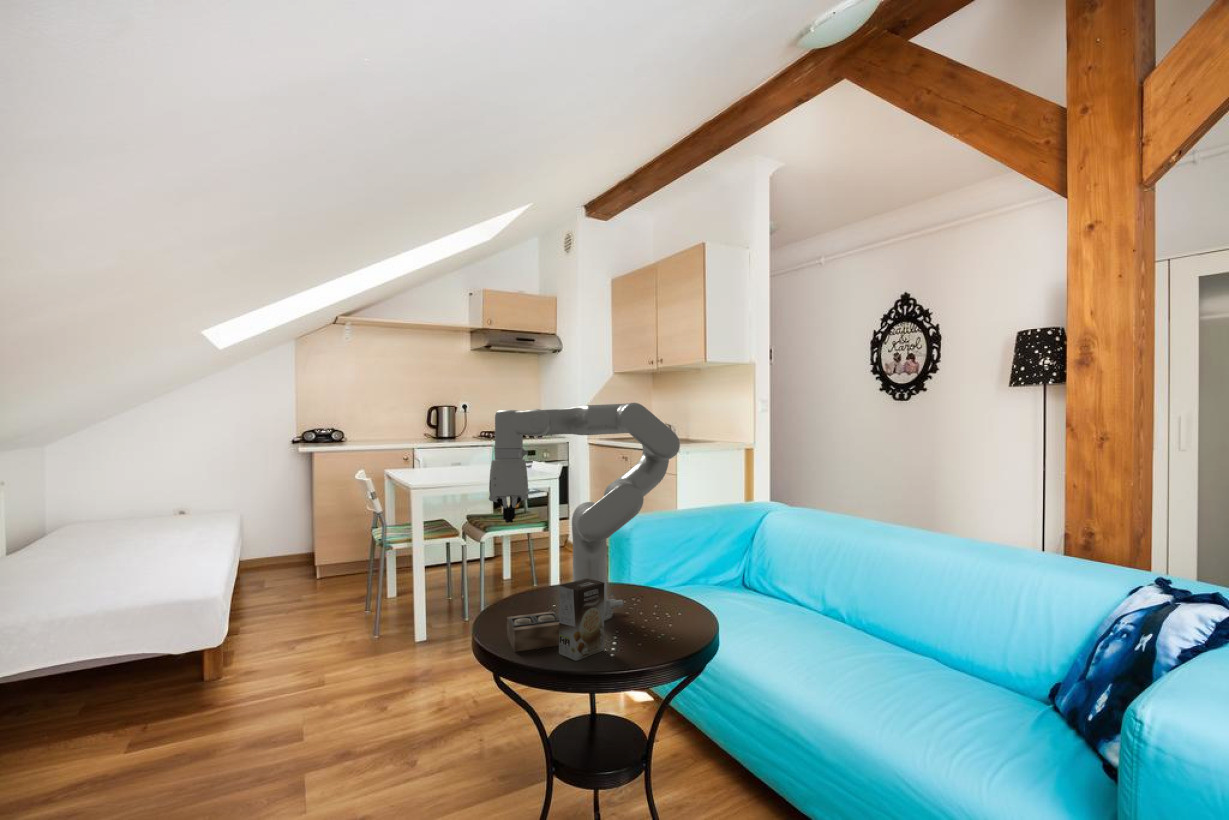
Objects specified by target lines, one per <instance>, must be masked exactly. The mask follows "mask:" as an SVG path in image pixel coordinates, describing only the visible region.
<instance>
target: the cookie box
mask: <svg viewBox="0 0 1229 820" xmlns="http://www.w3.org/2000/svg"><path fill="white" fill-rule="evenodd" d="M558 605H559V611H558V612H559V613H558V614H559V615H558V617H559V645H558V653H559V655H561V656H563V657H565V658H568V659H571V660H573V661H575V662H576V661H579V660H583V659H584V658H587V657H590V656H592V655H595V654H597V653H600V652H602V651H604V650H605V621H604V583H603V582H600V581H597V580H591V579H583V580H578V581H574V582H573V581H570V582H568V583H567V582H566V583H563V584H559V604H558Z"/></svg>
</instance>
